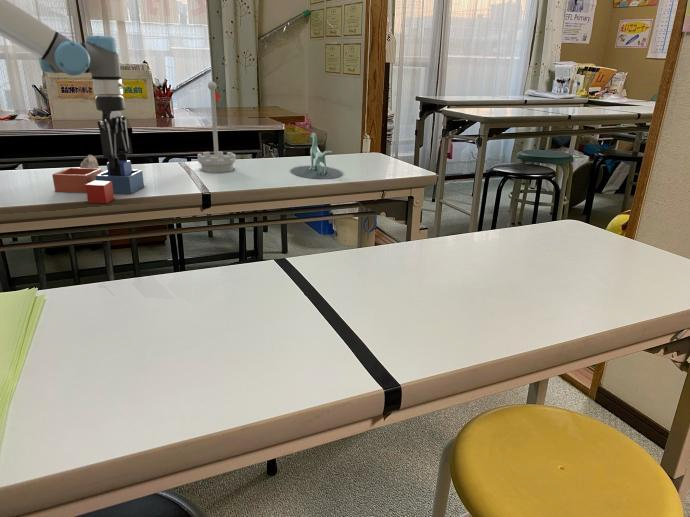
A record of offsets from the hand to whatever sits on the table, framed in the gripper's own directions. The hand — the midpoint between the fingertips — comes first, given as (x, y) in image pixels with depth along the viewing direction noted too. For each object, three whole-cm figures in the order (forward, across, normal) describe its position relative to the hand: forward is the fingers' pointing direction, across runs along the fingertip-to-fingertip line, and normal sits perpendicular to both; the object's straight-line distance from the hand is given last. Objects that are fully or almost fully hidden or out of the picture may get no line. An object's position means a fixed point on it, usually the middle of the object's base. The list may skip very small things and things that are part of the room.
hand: (120, 177), depth 152 cm
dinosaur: (+4, +34, -56) cm, 66 cm away
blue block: (0, 0, 0) cm, 0 cm away
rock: (+4, +14, +15) cm, 21 cm away
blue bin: (+4, 0, 0) cm, 4 cm away
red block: (+4, -13, 0) cm, 14 cm away
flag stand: (+4, +34, -20) cm, 40 cm away
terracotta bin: (+4, 0, +13) cm, 13 cm away
